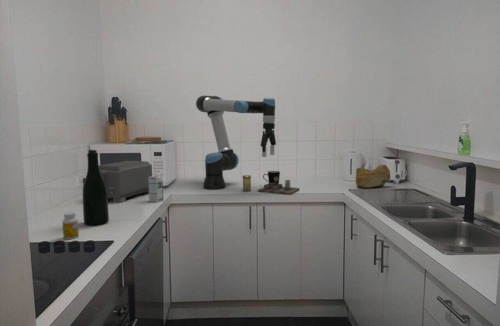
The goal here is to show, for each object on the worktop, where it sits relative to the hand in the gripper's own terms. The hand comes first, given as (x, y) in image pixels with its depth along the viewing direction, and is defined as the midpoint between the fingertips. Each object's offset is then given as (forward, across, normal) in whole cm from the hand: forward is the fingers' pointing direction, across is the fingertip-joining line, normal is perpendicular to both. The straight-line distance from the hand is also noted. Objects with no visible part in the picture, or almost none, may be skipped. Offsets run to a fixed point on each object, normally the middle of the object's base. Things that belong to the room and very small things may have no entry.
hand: (268, 155), depth 237 cm
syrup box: (+24, -55, +46) cm, 76 cm away
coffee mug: (+23, +16, +3) cm, 28 cm away
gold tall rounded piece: (+23, -8, +11) cm, 27 cm away
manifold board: (+22, -1, -8) cm, 24 cm away
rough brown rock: (+22, +39, -59) cm, 74 cm away
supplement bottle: (+23, -121, +34) cm, 128 cm away
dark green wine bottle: (+23, -102, +42) cm, 112 cm away
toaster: (+24, -54, +72) cm, 93 cm away
